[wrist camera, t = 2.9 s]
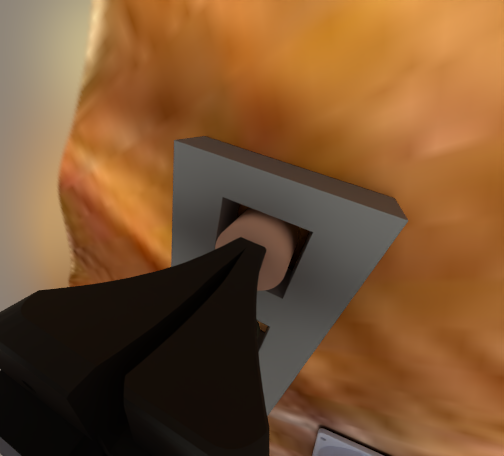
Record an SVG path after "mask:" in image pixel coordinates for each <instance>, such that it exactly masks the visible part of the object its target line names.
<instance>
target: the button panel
mask: <svg viewBox="0 0 504 456" xmlns="http://www.w3.org/2000/svg"><path fill="white" fill-rule="evenodd" d="M239 204H242V205H245V206H247V207H250V208H252V209H255V210H257V211H260V212H263V213H265V214H268V215H270V216H273V217H275V218H278V219H281V220H283V221H286V222H288V223H291V224H293V225H296V226H299V227H301V228H304V229H306V230H309V231H310V233H309V235H308V237H307V240H306V242H305V244H304V246H303V249H302V251H301V253H300V255H299V258H298V260H297V262H296V264H295V267H294V269H293V271H291V270H289V269H287V271H286V273H285V276H284V278H283V280H282V281H281V282H280V283H279V284H278V285H277V286H276V287H274V288H272V289H269V290H264V291H257V303H256V320H258V321H260V322H262V323H263V324H265V325H267V326H268V327H267V330H266V332H265V333H264V332H262V331H260V334H259V336H258V339H257V340H258V352H259V363H260V371H261V379H262V387H263V393H264V400H265V406H266V412H267V416H268V415H269V413H270V412H271V410H272V409H273V408H274V406H275V405H276V403H277V402H278V401H279V399H280V398H281V397H282V395H283V394H284V392H285V391H286V390H287V388H288V387H289V385H290V384H291V383H292V381H293V380H294V379H295V377H296V376H297V374H298V373H299V372H300V370H301V369H302V367H303V366H304V365H305V363H306V362H307V360H308V359H309V358H310V356H311V355H312V354H313V352H314V351H315V349H316V348H317V347H318V345H319V344H320V342H321V341H322V340H323V338H324V337H325V336H326V334H327V333H328V331H329V330H330V329H331V327H332V326H333V324H334V323H335V322H336V320H337V319H338V317H339V316H340V315H341V313H342V312H343V311H344V309H345V308H346V306H347V305H348V304H349V302H350V301H351V299H352V298H353V297H354V295H355V294H356V292H357V291H358V290H359V288H360V287H361V286H362V284H363V283H364V281H365V280H366V279H367V277H368V276H369V274H370V273H371V272H372V270H373V269H374V268H375V266H376V265H377V263H378V262H379V261H380V259H381V258H382V256H383V255H384V254H385V252H386V251H387V249H388V248H389V247H390V245H391V244H392V243H393V241H394V240H395V238H396V237H397V236H398V234H399V233H400V231H401V230H402V229H403V227H404V226H405V225H406V223H407V222H408V219H407V218H406V216H405V214H404V213H403V211H402V209H401V208H400V206H399V204H398V203H397V201H396V200H395V198H392V197H389V196H386V195H383V194H380V193H377V192H374V191H371V190H368V189H365V188H362V187H359V186H355V185H352V184H349V183H346V182H343V181H340V180H337V179H334V178H331V177H328V176H325V175H322V174H319V173H316V172H313V171H310V170H307V169H304V168H300V167H297V166H294V165H291V164H288V163H285V162H282V161H279V160H276V159H273V158H270V157H267V156H264V155H261V154H258V153H255V152H252V151H249V150H245V149H242V148H239V147H236V146H233V145H230V144H227V143H224V142H221V141H218V140H215V139H212V138H209V137H206V136H202V137H194V138H187V139H179V140H174V174H173V218H172V263H171V267H173V266H176V265H179V264H182V263H184V262H187V261H189V260H192V259H194V258H197V257H199V256H202V255H204V254H206V253H209V252H211V251H213V250H215V245H216V241H217V239H218V237H219V236H220V234H221V233H222V232H223V231H224V230H225V229H226V228H228V227H229V226H230V225H231V224H232V223H233V222H234V221H235V220H236V219H237V214H238V209H239Z"/></svg>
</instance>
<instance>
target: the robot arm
mask: <svg viewBox="0 0 504 456" xmlns="http://www.w3.org/2000/svg"><path fill="white" fill-rule="evenodd" d="M266 251H267V250H266V248H265V247H264V246H261V245H259V244H256V243H254V242H252V241H249V240H247V239H245V238H242V237H239V238H237V239H235V240H233V241H231V242H229V243H227V244H225V245H223V246H221V247H219V248H217V249H215V250H213V251H211V252H209V253H206V254H204V255H202V256H199V257H197V258H194V259H192V260H189V261H187V262H184V263H182V264H179V265H176V266H173V267H170V268H166V269H163V270H160V271H156V272H152V273H148V274H143V275H139V276H135V277H131V278H126V279H121V280H116V281H110V282H104V283H98V284H91V285H84V286H75V287H67V288H58V289H50V290H39V291H37V292H35V293H33V294H31V295H30V296H28V297H26V298H24V299H23V300H21V301H19V302H18V303H16V304H14V305H12V306H10V307H8V308H7V309H5V310H3V311H1V312H0V369H1V371H0V453H1V454H2V455H3V456H269V423H268V418H267V412H266V406H265V400H264V393H263V387H262V379H261V371H260V363H259V352H258V340H257V321H256V303H257V286H258V278H259V272H260V269H261V266H262V263H263V260H264V257H265V254H266ZM312 456H384V455H382V454H379V453H377V452H375V451H373V450H370V449H368V448H366V447H364V446H362V445H359V444H357V443H355V442H353V441H350V440H348V439H346V438H344V437H341V436H339V435H337V434H335V433H332V432H330V431H328V430H326V429H323V428H320V429H319V430H318V434H317V438H316V442H315V445H314V449H313V453H312Z"/></svg>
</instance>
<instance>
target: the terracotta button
mask: <svg viewBox="0 0 504 456" xmlns="http://www.w3.org/2000/svg"><path fill="white" fill-rule="evenodd" d="M239 237H242V238H245V239H247V240H249V241H252V242H254V243H256V244H259V245H261V246H264V247H265V248H266V250H267V251H266V254H265V257H264V260H263V263H262V266H261V269H260V272H259V278H258V286H257V291H264V290H269V289H272V288H274V287H276V286H277V285H278V284H279V283H280V282H281V281H282V280H283V278H284V276H285V273H286V271H287V268H288V266H289V263H290V261H291V258H292V255H293V253H294V250H295V248H296V245H297V242H298V238H299V232H298V227H297V226H296V225H293V224H291V223H288V222H286V221H283V220H281V219H278V218H275V217H273V216H270V215H268V214H265V213H263V212H260V211H257V210H255V209H252V208H248V209H247V210H246V211H245V212H244V213H243V214H242V215H241V216H239V217H238V218H237V219H236V220H235V221H234V222H233V223H232V224H231V225H230V226H229V227H228V228H226V229H225V230H224V231H223V232H222V233H221V234H220V236H219V237H218V239H217V241H216V245H215V249H217V248H219V247H221V246H223V245H225V244H227V243H229V242H231V241H233V240H235V239H237V238H239Z"/></svg>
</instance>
